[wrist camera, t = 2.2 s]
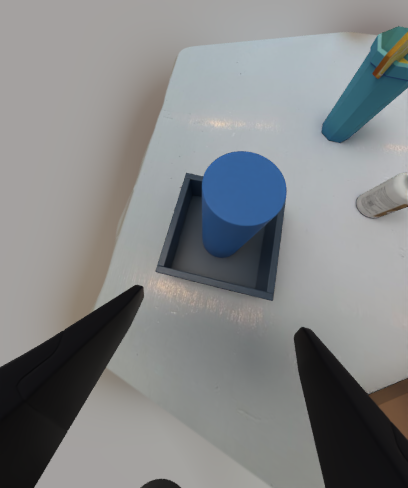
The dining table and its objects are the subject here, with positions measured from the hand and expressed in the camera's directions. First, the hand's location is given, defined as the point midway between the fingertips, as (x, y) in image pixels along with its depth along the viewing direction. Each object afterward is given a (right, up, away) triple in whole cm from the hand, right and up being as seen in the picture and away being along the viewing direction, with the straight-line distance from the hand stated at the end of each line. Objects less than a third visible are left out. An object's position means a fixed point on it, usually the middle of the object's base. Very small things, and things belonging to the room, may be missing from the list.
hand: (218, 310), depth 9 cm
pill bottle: (+26, +10, +17) cm, 32 cm away
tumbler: (+2, +5, +14) cm, 15 cm away
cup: (+24, +25, +20) cm, 41 cm away
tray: (+2, +4, +15) cm, 16 cm away
